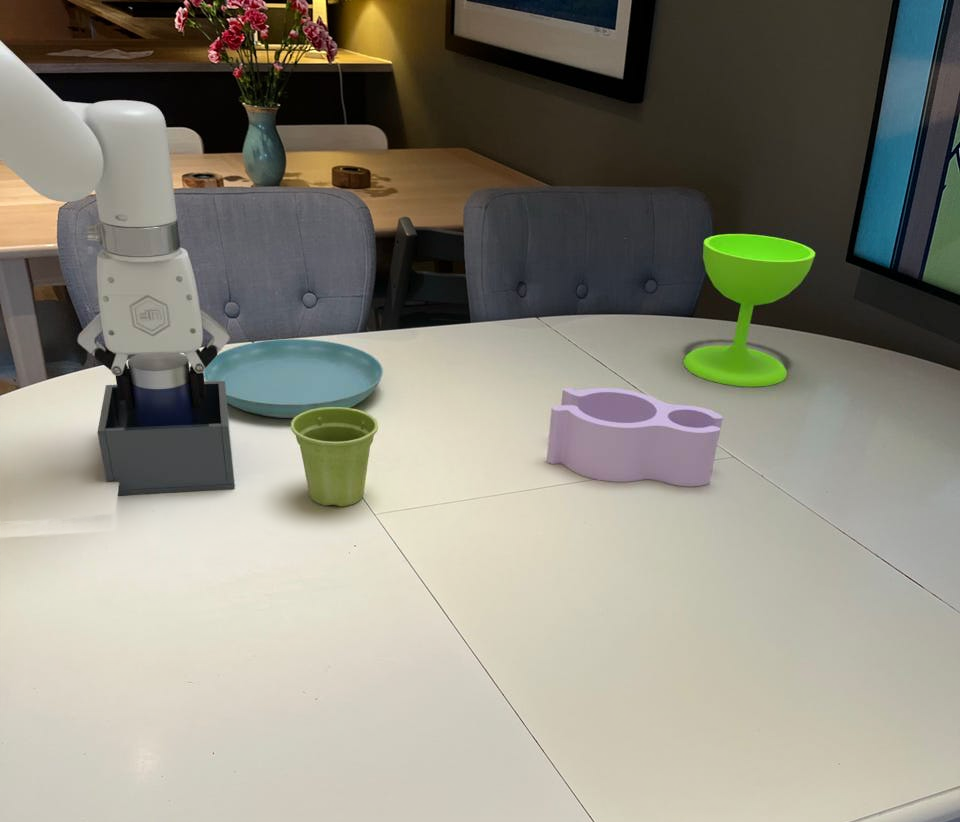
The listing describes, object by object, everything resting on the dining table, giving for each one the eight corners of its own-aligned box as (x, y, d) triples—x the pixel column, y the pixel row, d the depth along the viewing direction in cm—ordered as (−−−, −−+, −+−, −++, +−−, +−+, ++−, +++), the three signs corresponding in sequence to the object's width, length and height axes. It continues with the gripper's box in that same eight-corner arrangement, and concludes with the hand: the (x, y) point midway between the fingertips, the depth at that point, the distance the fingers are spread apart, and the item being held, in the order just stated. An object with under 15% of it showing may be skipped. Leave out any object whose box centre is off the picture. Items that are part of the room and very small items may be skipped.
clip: (715, 456, 126) (725, 404, 122) (706, 498, 116) (717, 443, 112) (562, 431, 130) (567, 381, 126) (541, 470, 120) (546, 416, 116)
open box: (108, 496, 109) (97, 431, 105) (116, 445, 120) (105, 384, 116) (234, 488, 112) (228, 425, 108) (230, 439, 123) (225, 380, 119)
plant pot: (395, 496, 113) (396, 425, 108) (332, 523, 107) (329, 449, 102) (341, 470, 118) (339, 400, 113) (277, 494, 112) (272, 421, 107)
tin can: (139, 458, 111) (125, 372, 105) (141, 435, 116) (128, 351, 111) (198, 455, 113) (188, 370, 107) (198, 432, 118) (188, 349, 112)
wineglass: (718, 390, 146) (743, 264, 135) (664, 354, 158) (683, 236, 147) (808, 381, 151) (838, 259, 140) (748, 347, 163) (772, 232, 152)
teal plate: (169, 388, 135) (166, 364, 134) (304, 349, 151) (303, 328, 149) (283, 442, 123) (282, 417, 121) (418, 394, 138) (419, 371, 136)
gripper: (47, 248, 96) (80, 421, 107) (229, 247, 100) (244, 414, 111) (55, 229, 102) (85, 395, 113) (227, 229, 106) (241, 389, 117)
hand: (164, 403), depth 112 cm, fingers closed on tin can, 6 cm apart
